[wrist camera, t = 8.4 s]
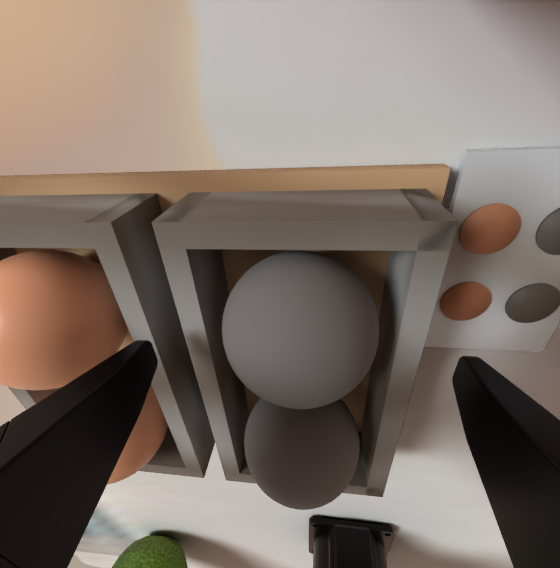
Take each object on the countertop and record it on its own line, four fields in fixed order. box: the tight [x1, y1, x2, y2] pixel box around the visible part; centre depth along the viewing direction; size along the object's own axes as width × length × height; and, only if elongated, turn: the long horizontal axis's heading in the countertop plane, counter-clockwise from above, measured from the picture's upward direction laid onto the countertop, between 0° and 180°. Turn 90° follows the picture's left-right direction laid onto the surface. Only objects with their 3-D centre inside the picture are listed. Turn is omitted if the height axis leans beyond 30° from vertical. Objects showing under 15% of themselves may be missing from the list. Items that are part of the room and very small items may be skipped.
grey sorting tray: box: [0, 147, 560, 497], centre depth 13 cm, size 16×24×3 cm, turn 93°
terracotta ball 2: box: [107, 385, 168, 484], centre depth 15 cm, size 5×5×5 cm
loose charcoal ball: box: [222, 250, 379, 409], centre depth 10 cm, size 5×5×5 cm
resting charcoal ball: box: [244, 398, 360, 510], centre depth 13 cm, size 5×5×5 cm
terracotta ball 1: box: [0, 250, 128, 390], centre depth 11 cm, size 5×5×5 cm
